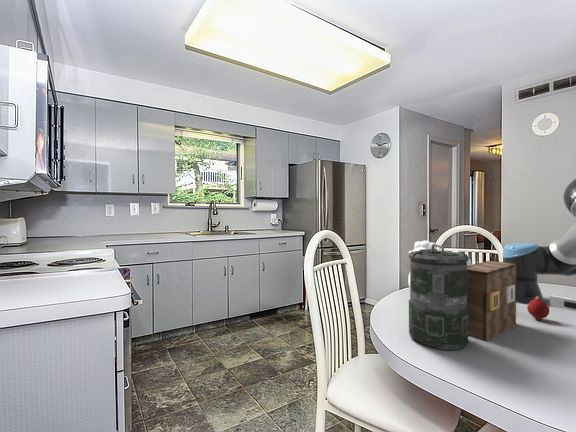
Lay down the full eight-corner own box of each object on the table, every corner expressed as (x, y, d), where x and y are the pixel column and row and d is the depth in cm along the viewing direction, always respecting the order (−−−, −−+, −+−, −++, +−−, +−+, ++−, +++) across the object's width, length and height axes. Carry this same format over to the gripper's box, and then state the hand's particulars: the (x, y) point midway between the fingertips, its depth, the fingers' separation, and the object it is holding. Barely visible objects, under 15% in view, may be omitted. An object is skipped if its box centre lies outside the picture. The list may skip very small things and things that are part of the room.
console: (489, 317, 108) (489, 260, 107) (515, 324, 101) (516, 263, 101) (458, 332, 95) (458, 268, 94) (486, 341, 88) (486, 272, 88)
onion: (544, 317, 106) (544, 295, 106) (552, 323, 101) (552, 299, 101) (524, 316, 108) (524, 293, 108) (531, 321, 103) (531, 298, 103)
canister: (401, 328, 98) (401, 242, 98) (451, 328, 98) (451, 241, 97) (421, 351, 83) (421, 248, 82) (480, 351, 82) (481, 248, 81)
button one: (497, 296, 103) (497, 281, 103) (515, 300, 99) (515, 284, 99) (490, 299, 100) (490, 284, 100) (509, 303, 96) (509, 287, 96)
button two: (481, 303, 96) (481, 287, 96) (500, 307, 92) (500, 290, 92) (473, 306, 93) (473, 289, 93) (492, 311, 89) (492, 293, 89)
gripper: (679, 348, 66) (542, 317, 86) (684, 334, 74) (557, 308, 93) (679, 314, 66) (542, 290, 86) (684, 303, 74) (557, 284, 93)
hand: (550, 300), depth 89 cm, fingers closed
